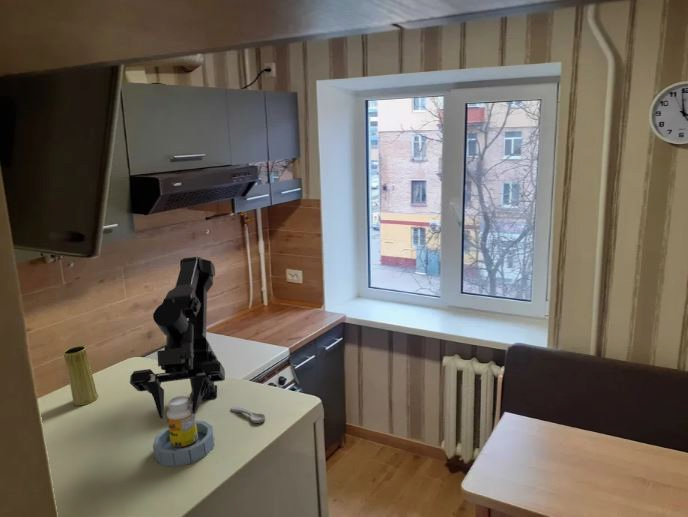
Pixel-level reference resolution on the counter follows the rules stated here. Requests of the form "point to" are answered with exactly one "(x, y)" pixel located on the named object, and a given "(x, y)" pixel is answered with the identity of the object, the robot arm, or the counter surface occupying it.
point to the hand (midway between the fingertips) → (177, 415)
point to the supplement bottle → (181, 423)
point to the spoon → (250, 414)
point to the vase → (80, 376)
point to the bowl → (186, 455)
